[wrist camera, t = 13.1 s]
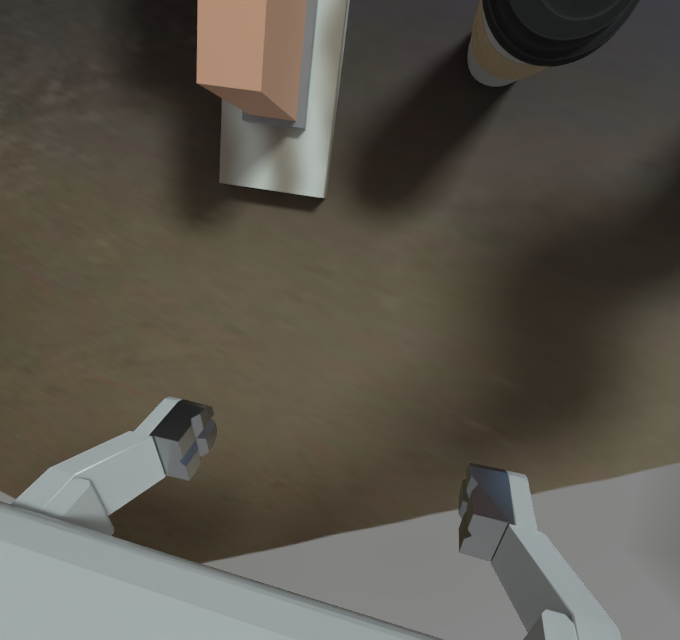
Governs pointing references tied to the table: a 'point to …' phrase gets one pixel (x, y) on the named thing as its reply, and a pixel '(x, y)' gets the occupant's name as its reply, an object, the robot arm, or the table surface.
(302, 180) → the tunnel track
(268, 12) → the block
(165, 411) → the robot arm
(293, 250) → the table surface
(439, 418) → the table surface
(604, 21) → the coffee cup
